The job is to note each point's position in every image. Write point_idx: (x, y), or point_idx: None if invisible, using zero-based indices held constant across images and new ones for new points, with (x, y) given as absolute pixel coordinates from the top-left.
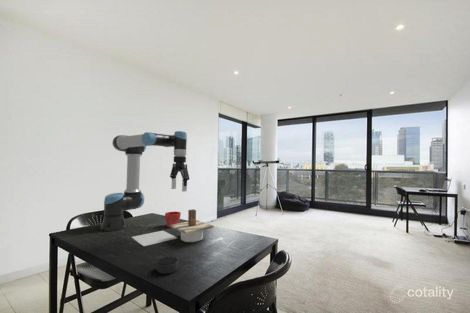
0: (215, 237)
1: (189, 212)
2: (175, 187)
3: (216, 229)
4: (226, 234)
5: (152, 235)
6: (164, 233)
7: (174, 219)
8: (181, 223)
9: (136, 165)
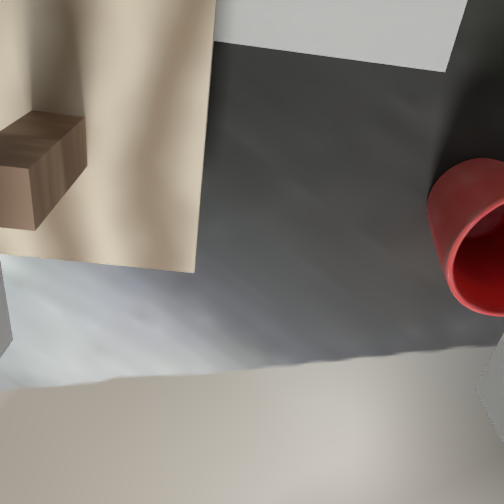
0: None
1: (11, 156)
2: (489, 404)
3: (165, 342)
4: (36, 316)
5: None
6: (364, 29)
7: (448, 212)
8: (187, 113)
9: None
